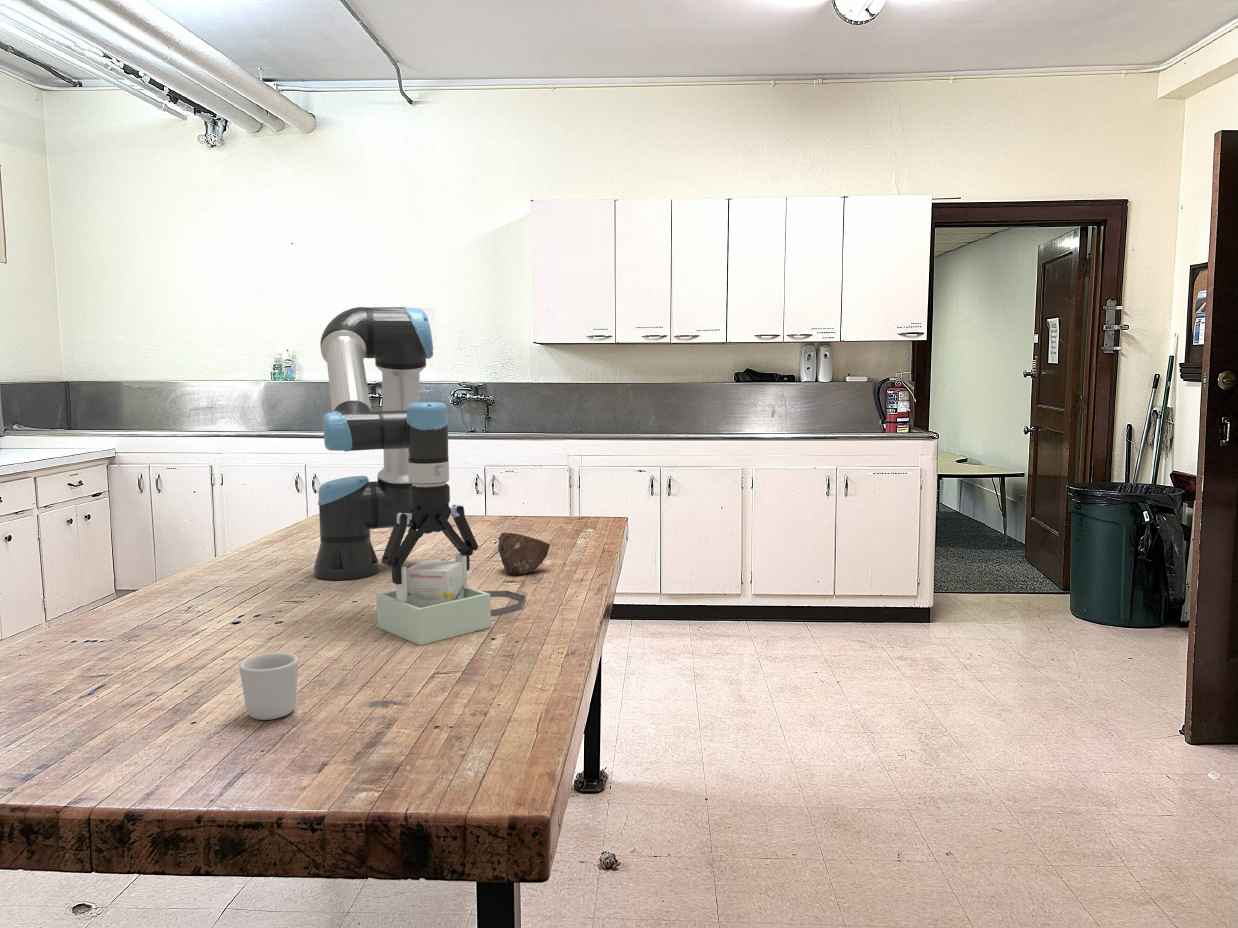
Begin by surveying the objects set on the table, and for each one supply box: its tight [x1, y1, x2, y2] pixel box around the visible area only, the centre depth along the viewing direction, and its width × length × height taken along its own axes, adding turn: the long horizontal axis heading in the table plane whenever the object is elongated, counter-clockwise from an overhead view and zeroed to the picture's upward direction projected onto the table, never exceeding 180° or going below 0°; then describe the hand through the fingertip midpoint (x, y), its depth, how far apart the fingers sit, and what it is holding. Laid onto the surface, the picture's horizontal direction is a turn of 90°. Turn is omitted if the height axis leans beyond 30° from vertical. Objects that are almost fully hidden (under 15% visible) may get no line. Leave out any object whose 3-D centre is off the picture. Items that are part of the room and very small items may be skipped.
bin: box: [375, 586, 492, 646], centre depth 170 cm, size 16×16×7 cm
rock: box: [497, 532, 551, 576], centre depth 213 cm, size 12×10×10 cm
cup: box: [239, 652, 299, 721], centre depth 130 cm, size 11×8×8 cm
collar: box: [482, 590, 526, 616], centre depth 186 cm, size 16×16×1 cm
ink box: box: [406, 559, 464, 608], centre depth 170 cm, size 9×8×12 cm
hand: (432, 593), depth 170 cm, fingers open, 13 cm apart
